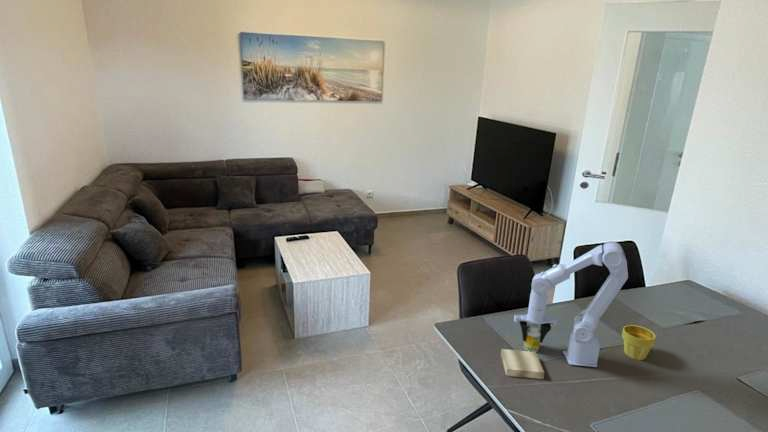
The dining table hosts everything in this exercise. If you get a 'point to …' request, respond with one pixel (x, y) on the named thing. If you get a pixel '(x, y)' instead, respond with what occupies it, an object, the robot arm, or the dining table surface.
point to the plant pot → (637, 341)
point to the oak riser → (522, 364)
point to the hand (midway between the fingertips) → (532, 340)
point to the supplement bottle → (532, 337)
